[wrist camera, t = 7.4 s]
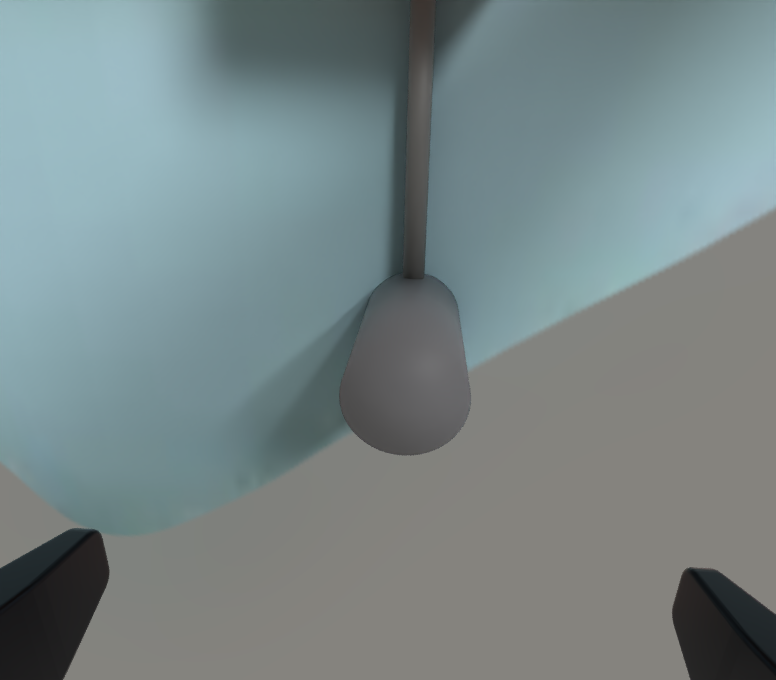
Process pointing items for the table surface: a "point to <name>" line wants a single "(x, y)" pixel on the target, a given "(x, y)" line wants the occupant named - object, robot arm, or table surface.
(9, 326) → the table surface
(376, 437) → the tethered block
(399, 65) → the table surface
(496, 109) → the table surface
